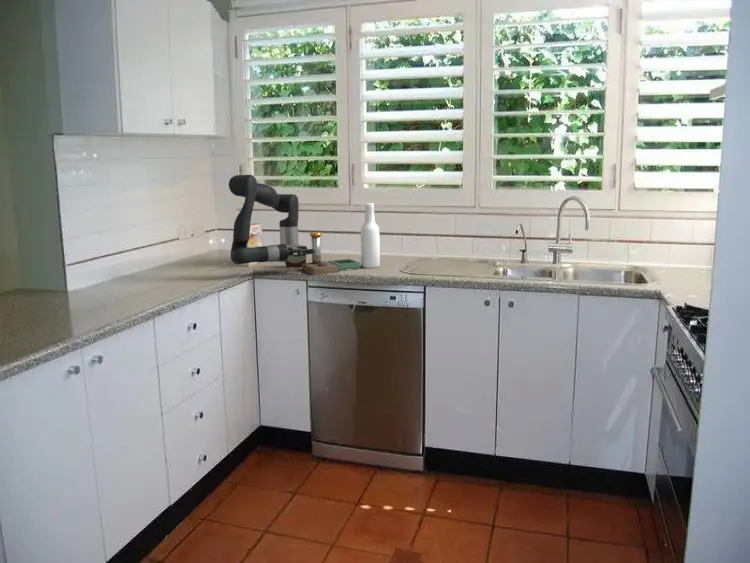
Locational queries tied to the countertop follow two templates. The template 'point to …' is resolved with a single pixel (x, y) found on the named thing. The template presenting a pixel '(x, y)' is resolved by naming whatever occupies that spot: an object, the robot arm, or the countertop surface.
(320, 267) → the block
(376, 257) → the alcohol
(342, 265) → the tray
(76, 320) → the countertop surface
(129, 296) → the countertop surface
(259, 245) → the coffeecake box
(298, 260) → the food container
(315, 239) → the pin
